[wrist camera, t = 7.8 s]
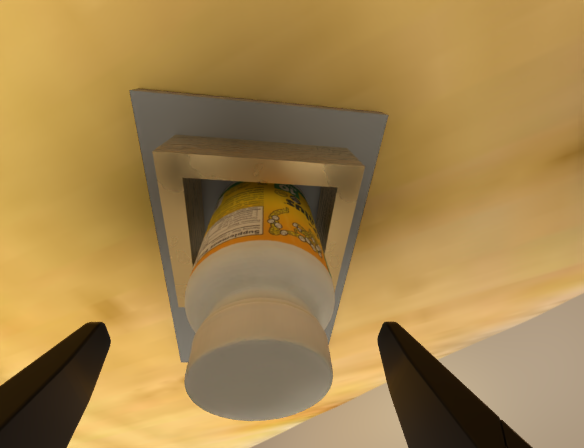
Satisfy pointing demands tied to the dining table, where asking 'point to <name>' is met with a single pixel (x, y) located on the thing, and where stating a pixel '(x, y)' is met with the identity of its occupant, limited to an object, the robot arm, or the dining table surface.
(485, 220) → the dining table surface
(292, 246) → the supplement bottle
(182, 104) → the fitting board
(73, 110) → the dining table surface
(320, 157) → the square wooden frame
